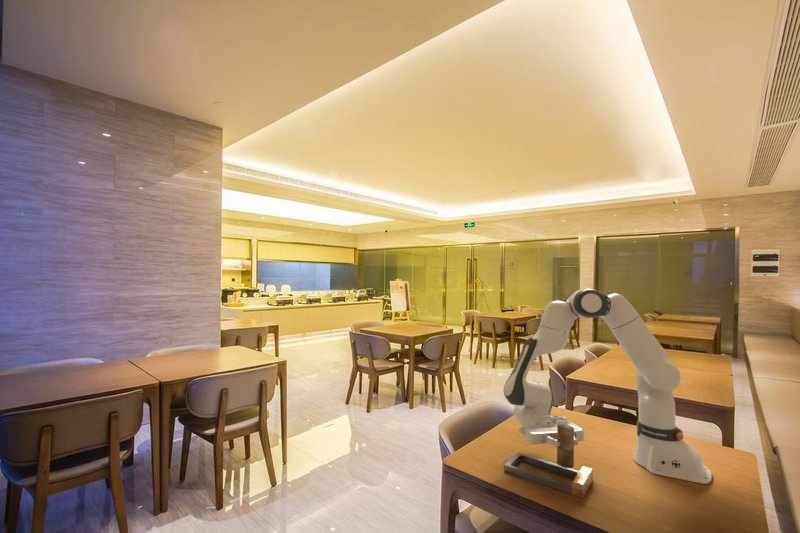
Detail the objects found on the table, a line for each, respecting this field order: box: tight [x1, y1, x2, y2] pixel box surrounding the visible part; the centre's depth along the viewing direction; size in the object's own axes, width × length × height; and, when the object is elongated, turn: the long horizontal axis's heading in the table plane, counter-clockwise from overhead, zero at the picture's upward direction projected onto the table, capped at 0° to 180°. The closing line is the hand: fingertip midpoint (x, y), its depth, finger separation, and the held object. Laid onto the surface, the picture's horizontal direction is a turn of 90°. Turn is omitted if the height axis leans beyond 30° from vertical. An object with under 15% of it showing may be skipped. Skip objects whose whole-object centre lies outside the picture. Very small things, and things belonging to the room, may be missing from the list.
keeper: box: [556, 424, 575, 469], centre depth 126 cm, size 5×5×12 cm
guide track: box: [503, 452, 594, 499], centre depth 129 cm, size 25×12×4 cm, turn 51°
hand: (567, 443), depth 125 cm, fingers closed on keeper, 5 cm apart
